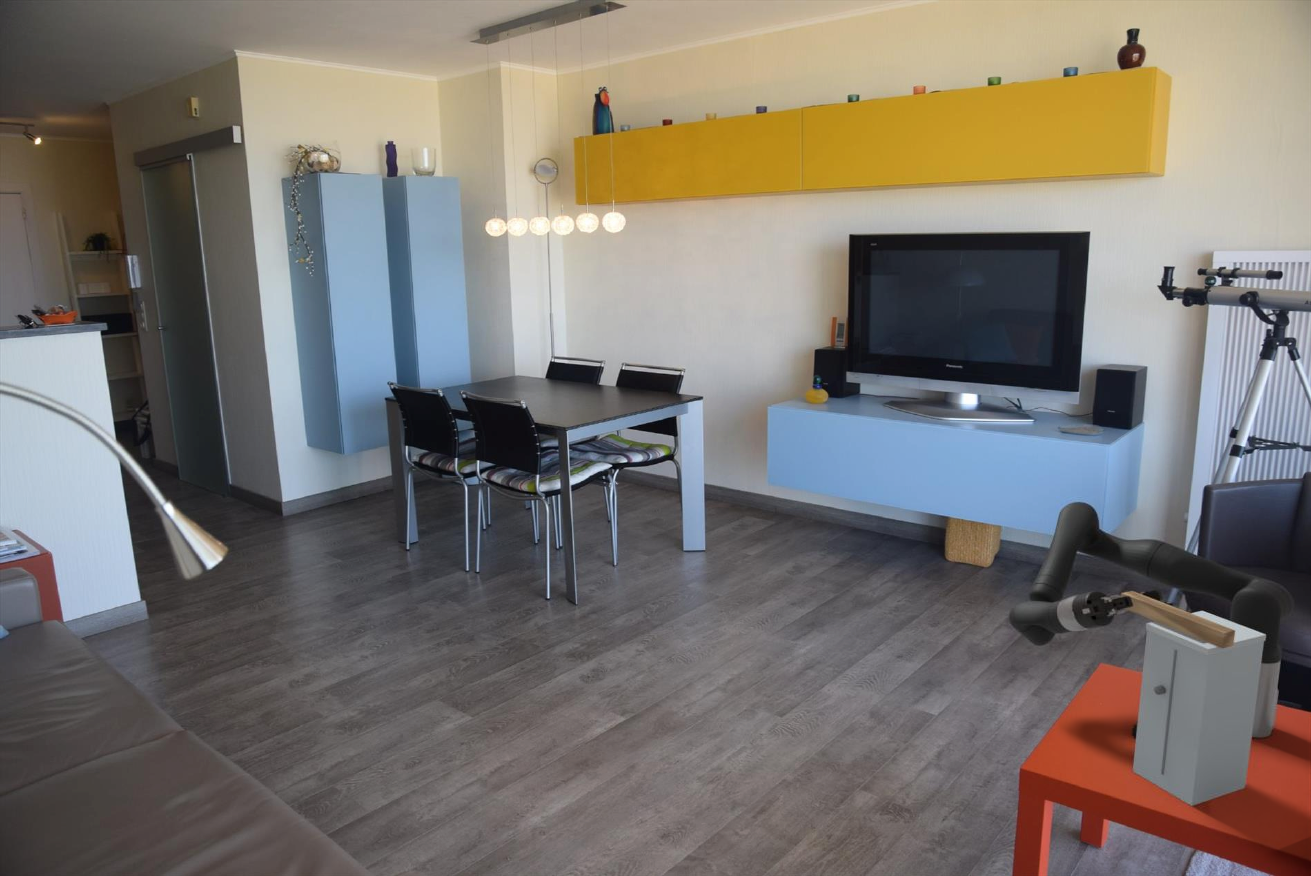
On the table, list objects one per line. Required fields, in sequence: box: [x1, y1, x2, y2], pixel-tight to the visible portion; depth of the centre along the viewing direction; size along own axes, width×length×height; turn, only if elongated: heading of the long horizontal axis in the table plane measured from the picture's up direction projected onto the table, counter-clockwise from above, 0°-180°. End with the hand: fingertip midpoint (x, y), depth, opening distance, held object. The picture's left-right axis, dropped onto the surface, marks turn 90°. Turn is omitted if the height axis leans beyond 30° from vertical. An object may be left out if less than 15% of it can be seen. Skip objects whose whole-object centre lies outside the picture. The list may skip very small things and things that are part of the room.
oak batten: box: [1120, 590, 1235, 648], centre depth 177 cm, size 3×22×3 cm, turn 23°
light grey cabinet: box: [1132, 610, 1266, 807], centre depth 179 cm, size 17×13×32 cm
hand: (1145, 597), depth 183 cm, fingers open, 8 cm apart
